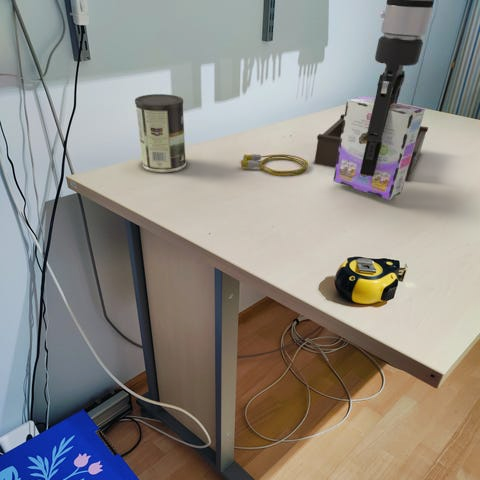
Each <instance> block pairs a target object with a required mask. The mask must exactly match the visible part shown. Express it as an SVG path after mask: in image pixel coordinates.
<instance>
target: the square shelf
mask: <svg viewBox="0 0 480 480" xmlns="http://www.w3.org/2000/svg"><path fill="white" fill-rule="evenodd" d="M344 116H345V114H343V113H341V115H340V117H339V119H338V120H337V121H336V122H335V123H333V124H332V125H331V126H330V127H328V129H327V130H326V131H325V132H324V133H319V134H318V135H317V136H316V139H317V143H316V151H315V157H314V164H316V165H320V166H321V165H322V166H326V167H331V168H336V163H337V157H338V151H339V145H340V139H341V133H342V127H343V122H344ZM428 131H429V127H428V126H423V125H420V129H419V132H418V136H417V139H416V143H415V146H414V150H413V153H412V157H411V161H410V164H409V167H408V171H407V174H406V178H405V181H404V182H408V181H409V179H410V176H411V174H412V172H413V170H414V168H415V165H416V163H417V161H418V158H419V156H420V154H421V151H422V147H423V144H424V141H425V139H426V134H427V133H428Z"/></svg>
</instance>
